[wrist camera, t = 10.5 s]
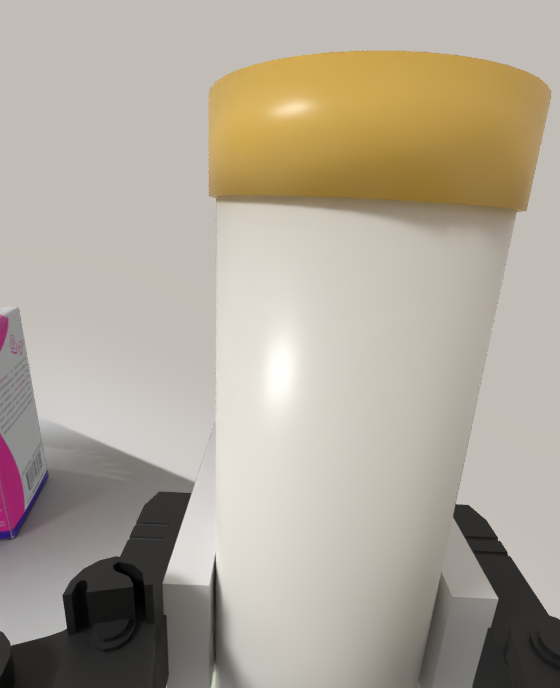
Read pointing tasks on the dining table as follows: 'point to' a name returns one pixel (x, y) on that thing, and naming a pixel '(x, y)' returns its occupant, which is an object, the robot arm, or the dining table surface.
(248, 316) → the switch handle
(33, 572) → the dining table surface
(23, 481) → the supplement box
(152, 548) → the robot arm
